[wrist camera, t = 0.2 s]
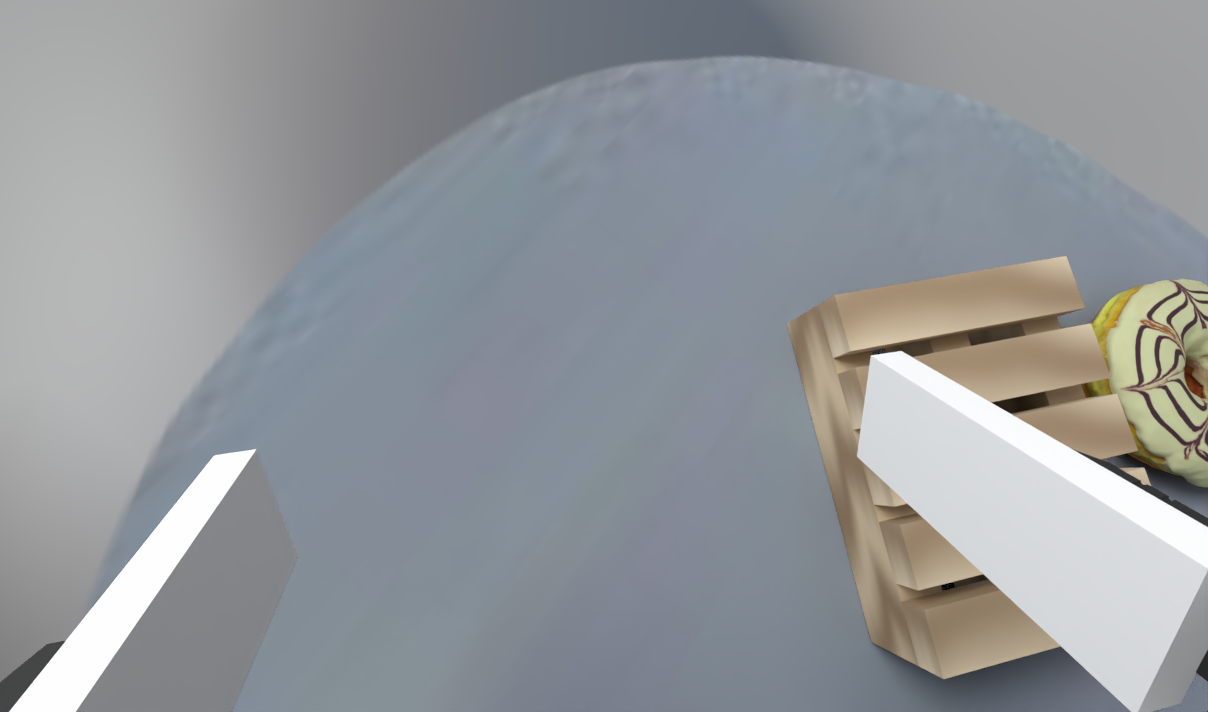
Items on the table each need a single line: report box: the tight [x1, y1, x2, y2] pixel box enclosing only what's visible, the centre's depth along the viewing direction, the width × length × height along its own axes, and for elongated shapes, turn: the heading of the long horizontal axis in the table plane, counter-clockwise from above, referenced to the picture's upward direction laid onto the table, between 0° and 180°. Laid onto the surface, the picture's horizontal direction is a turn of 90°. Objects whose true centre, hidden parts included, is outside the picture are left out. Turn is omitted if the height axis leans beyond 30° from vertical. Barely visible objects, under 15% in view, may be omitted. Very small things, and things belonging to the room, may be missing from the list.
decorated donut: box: [1081, 279, 1208, 488], centre depth 30 cm, size 10×11×4 cm
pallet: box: [787, 256, 1151, 679], centre depth 27 cm, size 16×12×5 cm
